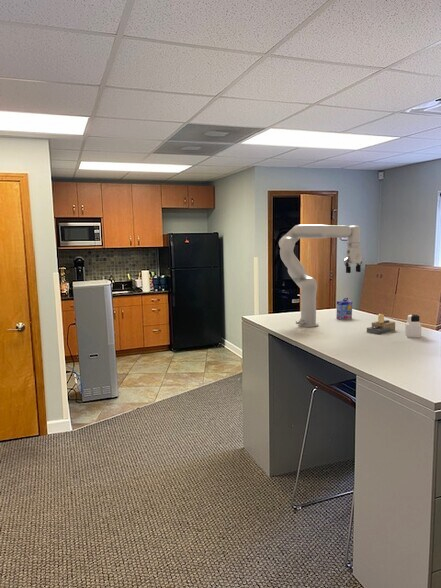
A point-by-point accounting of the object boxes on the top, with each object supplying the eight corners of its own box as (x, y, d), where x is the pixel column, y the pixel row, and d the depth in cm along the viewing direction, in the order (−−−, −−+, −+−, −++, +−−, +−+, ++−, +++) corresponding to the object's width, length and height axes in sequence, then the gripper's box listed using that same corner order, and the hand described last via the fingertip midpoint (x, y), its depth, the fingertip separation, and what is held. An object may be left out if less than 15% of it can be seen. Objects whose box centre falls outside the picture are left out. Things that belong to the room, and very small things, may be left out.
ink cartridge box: (341, 319, 287) (341, 298, 285) (335, 318, 292) (336, 297, 290) (352, 318, 291) (352, 297, 290) (347, 317, 296) (347, 296, 295)
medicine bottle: (418, 334, 238) (419, 314, 237) (421, 337, 231) (421, 316, 230) (405, 334, 240) (405, 313, 239) (407, 337, 233) (407, 316, 232)
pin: (381, 332, 248) (381, 315, 247) (376, 331, 251) (377, 314, 249) (384, 331, 250) (385, 314, 248) (380, 330, 252) (380, 313, 251)
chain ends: (378, 334, 242) (378, 324, 242) (366, 332, 249) (366, 322, 248) (395, 330, 251) (395, 321, 251) (383, 328, 258) (383, 319, 257)
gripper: (349, 245, 260) (349, 273, 262) (367, 245, 269) (366, 271, 271) (339, 245, 266) (339, 273, 268) (357, 245, 275) (357, 271, 278)
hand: (353, 272), depth 270 cm, fingers open, 9 cm apart
